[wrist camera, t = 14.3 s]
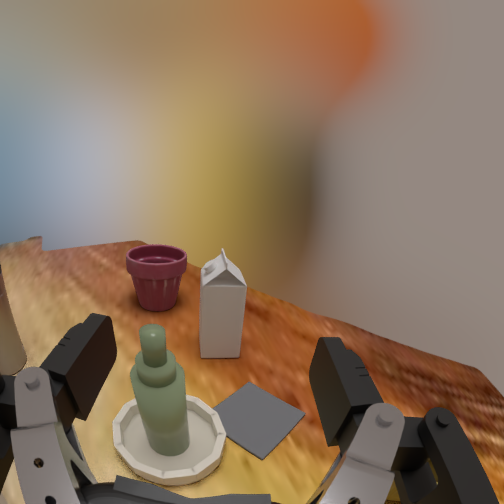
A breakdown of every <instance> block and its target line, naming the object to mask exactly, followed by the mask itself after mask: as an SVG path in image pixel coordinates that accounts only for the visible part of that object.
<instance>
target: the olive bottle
mask: <svg viewBox="0 0 504 504" xmlns="http://www.w3.org/2000/svg"><path fill="white" fill-rule="evenodd" d="M139 335H140V343H141V351H140V352H139V353H138V354H137V355H136V357H135V363H136V364H135V365H134V366H133V367H132V369H131V372H130V377H131V382H132V386H133V390H134V394H135V398H136V402H137V406H138V409H139V413H140V416H141V420H142V423H143V427H144V430H145V433H146V436H147V439H148V442H149V445H150V447H151V448H152V449H153V450H154V451H155V452H157V453H158V454H161V455H164V456H177V455H180V454H182V453H184V452H185V451H186V450H187V449H188V447H189V444H190V436H189V426H188V416H187V404H186V390H185V375H184V370H183V368H182V367H181V366H180V365H179V364H178V363H177V362H176V360H175V356H174V354H173V353H172V352H171V351H169V350H167V349H166V337H165V329H164V328H163V327H162V326H160V325H157V324H147V325H144V326H142V327H141V328H140V330H139Z"/></svg>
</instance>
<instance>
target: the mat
mask: <svg viewBox="0 0 504 504" xmlns="http://www.w3.org/2000/svg"><path fill="white" fill-rule="evenodd" d="M213 410H215V411H216V412H217V413H218V415H219V418H220V420H221V422H222V425H223V427H224V430H225V432H226V436H227V437H228V438H229V439H231V440H232V441H234V442H235V443H236V444H238V445H239V446H241V447H242V448H244V449H245V450H247V451H248V452H250V453H251V454H253V455H255V456H256V457H258V458H259V459H261V460H263V459H264V458H265V457H266V456H267V455H268V454H269V453H270V452H271V451H272V450H273V449H274V448H275V447H276V446H277V445H278V444H279V443H280V442H281V441H282V440H283V439H284V438H285V437H286V435H287V434H288V433H289V432H290V431H291V430H292V429H293V428H294V427H295V426H296V424H297V423H298V422H299V421H300V420H301V419H302V418H303V416H304V415H305V413H304V412H302V411H300V410H298V409H297V408H295V407H293V406H291V405H289V404H287V403H285V402H284V401H282V400H280V399H278V398H276V397H275V396H273V395H271V394H269V393H268V392H266V391H264V390H263V389H261V388H259V387H257V386H256V385H254V384H252V383H251V382H248V383H247V384H246V385H244V386H243V387H242V388H240V389H239V390H238V391H236V392H235V393H234V394H232V395H231V396H229V397H228V398H227V399H225V400H224V401H223V402H221V403H220V404H218V405H217V406H215V407H214V408H213Z"/></svg>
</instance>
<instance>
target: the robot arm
mask: <svg viewBox="0 0 504 504" xmlns="http://www.w3.org/2000/svg"><path fill="white" fill-rule="evenodd" d="M116 356H117V347H116V341H115V336H114V331H113V325H112V320H111V318H110V317H109V316H105V315H100V314H95V313H92V314H90V315H89V317H88V318H87V319H86V320H85V321H84V323H79V324H77V325H76V326H74V327H72V328H71V329H69V331H68V332H67V333H66V334H65V335H64V337H63V338H62V339H61V340H60V341H59V343H58V345H56V346H55V348H54V349H53V350H52V351H51V353H50V354H49V355H48V357H47V358H46V359H45V360H44V362H43V363H42V364H41V366H40V367H29V368H26V369H24V370H22V371H21V372H19V373H18V375H17V376H9V375H12V374H15V373H17V372H18V371H19V370H21V368H22V367H23V366H24V365H25V362H26V358H27V356H26V353H25V350H24V347H23V344H22V342H21V339H20V336H19V333H18V331H17V328H16V324H15V321H14V318H13V315H12V311H11V308H10V304H9V301H8V297H7V293H6V289H5V285H4V280H3V275H2V270H1V265H0V494H1V491H2V488H3V485H4V483H5V480H6V477H7V474H8V472H9V469H10V467H11V464H12V462H13V459H14V460H15V465H16V470H17V474H18V479H19V483H20V487H21V490H22V494H23V497H24V501H25V504H280V503H276V502H271V496H270V494H228V495H221V496H213V497H205V498H187V497H184V496H181V495H178V494H176V493H173V492H170V491H168V490H165V489H163V488H161V487H158V486H156V485H154V484H150V483H146V482H141V481H137V480H133V479H129V478H126V477H122V476H119V475H117V476H116V480H115V483H114V482H105V483H98V482H97V481H96V479H95V477H94V475H93V474H92V472H91V470H90V469H89V467H88V464H87V462H86V459H85V457H84V454H83V451H82V449H81V446H80V443H79V440H78V437H77V434H76V431H75V428H74V425H73V424H72V423H73V421H74V419H75V417H76V418H78V419H81V420H84V421H86V419H87V417H88V415H89V413H90V411H91V409H92V407H93V405H94V402H95V400H96V398H97V396H98V394H99V392H100V390H101V388H102V386H103V384H104V382H105V380H106V378H107V376H108V374H109V372H110V371H111V369H112V367H113V365H114V363H115V360H116ZM309 380H310V384H311V388H312V391H313V395H314V398H315V402H316V405H317V409H318V412H319V416H320V420H321V423H322V427H323V430H324V434H325V438H326V441H327V445H328V447H329V446H337V445H339V448H340V452H339V454H338V455H337V457H336V459H335V461H334V462H333V464H332V466H331V467H330V469H329V471H328V472H327V474H326V476H325V477H324V479H323V480H322V482H321V484H320V485H319V487H318V488H317V490H316V491H315V493H314V494H313V495H312V496H311V498H310V499H309V500H308V502H307V503H306V504H384V503H385V500H386V498H387V495H388V493H389V490H390V488H391V485H392V483H393V480H394V482H395V485H396V488H397V491H398V495H399V498H400V501H401V504H499V502H498V499H497V497H496V495H495V492H494V490H493V488H492V486H491V484H490V481H489V479H488V477H487V475H486V473H485V471H484V469H483V467H482V465H481V463H480V461H479V459H478V457H477V455H476V453H475V451H474V449H473V447H472V445H471V444H470V442H469V440H468V438H467V436H466V435H465V433H464V431H463V429H462V427H461V426H460V424H459V422H458V420H457V419H456V417H455V416H454V414H453V413H451V412H450V411H449V410H447V409H444V408H440V407H436V408H432V409H430V410H429V411H428V412H427V414H426V415H425V416H424V418H419V417H405V416H403V414H402V412H401V411H400V410H399V409H398V408H396V407H395V406H393V405H391V404H387V403H384V402H383V400H382V398H381V396H380V394H379V392H378V390H377V388H376V386H375V384H374V382H373V381H372V379H371V377H370V376H369V373H368V371H367V369H365V366H364V364H363V362H362V360H361V358H360V357H359V356H358V355H357V354H356V353H354V352H353V351H352V350H346V348H345V346H344V344H343V342H342V340H341V339H340V338H339V337H320V338H319V340H318V343H317V346H316V349H315V353H314V356H313V359H312V362H311V366H310V370H309ZM429 460H431V462H432V465H433V467H434V469H435V472H436V474H437V477H438V485H437V483H436V480H435V478H434V475H433V473H432V470H431V468H430V465H429V463H428V461H429Z"/></svg>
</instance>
